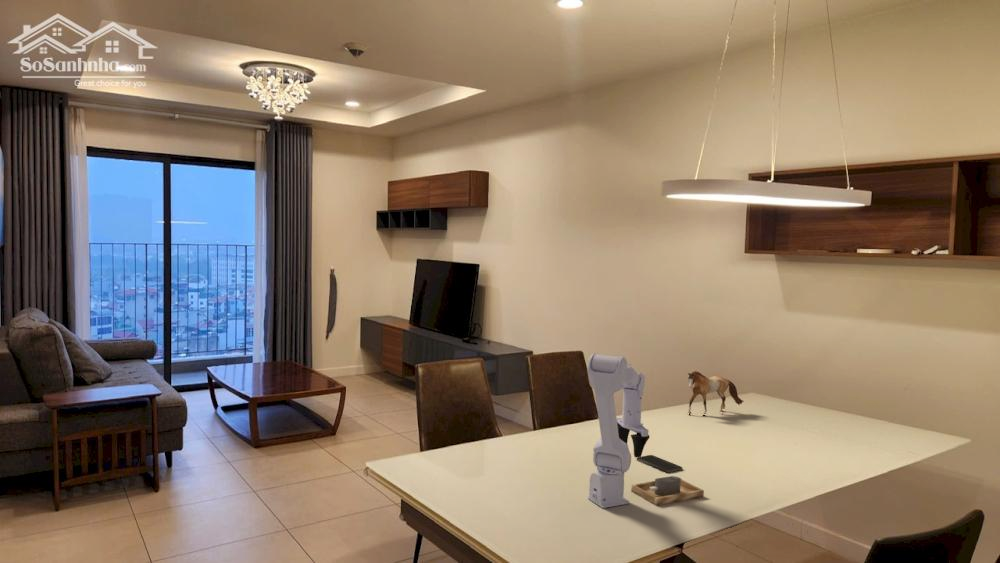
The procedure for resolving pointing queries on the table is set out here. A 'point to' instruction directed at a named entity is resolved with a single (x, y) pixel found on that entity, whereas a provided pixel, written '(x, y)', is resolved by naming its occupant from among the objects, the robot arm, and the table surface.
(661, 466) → the phone
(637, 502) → the table surface
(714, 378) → the horse figurine
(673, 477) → the grey rounded long block
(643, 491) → the oak tray
